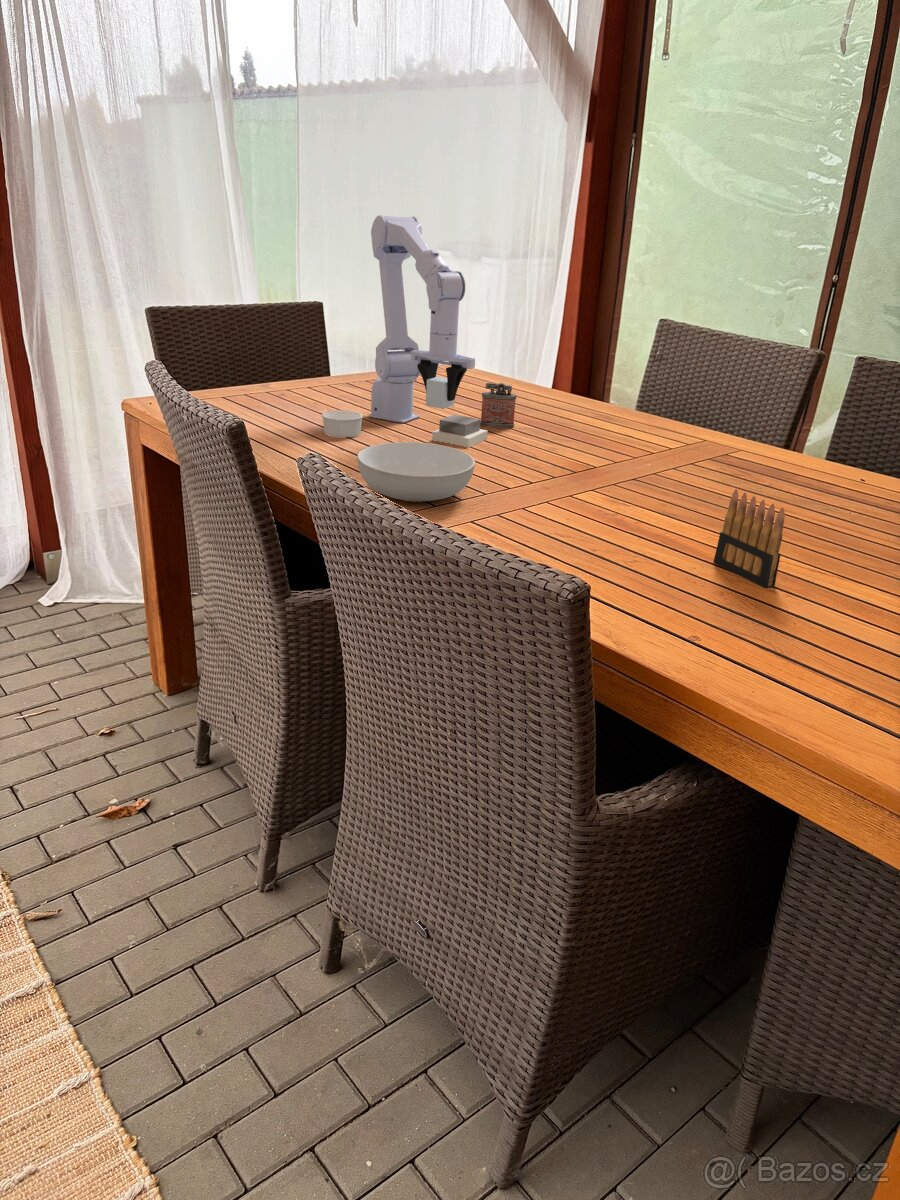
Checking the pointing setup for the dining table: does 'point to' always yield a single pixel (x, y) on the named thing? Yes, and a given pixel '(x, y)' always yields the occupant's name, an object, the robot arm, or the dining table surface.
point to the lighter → (498, 406)
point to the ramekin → (342, 423)
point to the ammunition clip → (751, 541)
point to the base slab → (460, 438)
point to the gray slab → (459, 425)
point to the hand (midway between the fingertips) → (440, 398)
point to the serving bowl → (415, 470)
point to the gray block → (437, 393)
